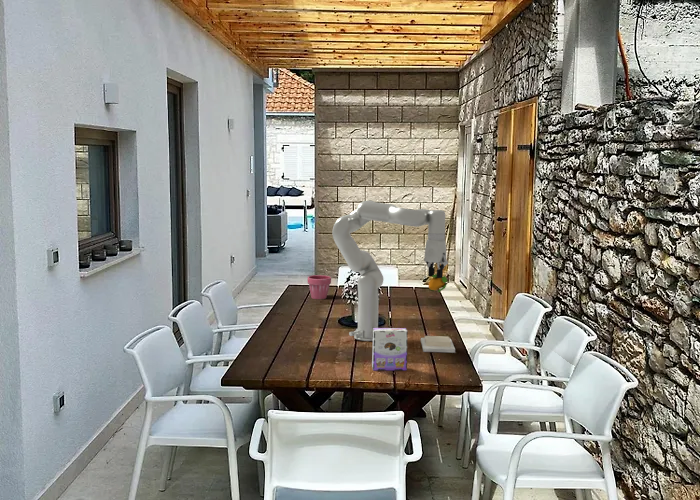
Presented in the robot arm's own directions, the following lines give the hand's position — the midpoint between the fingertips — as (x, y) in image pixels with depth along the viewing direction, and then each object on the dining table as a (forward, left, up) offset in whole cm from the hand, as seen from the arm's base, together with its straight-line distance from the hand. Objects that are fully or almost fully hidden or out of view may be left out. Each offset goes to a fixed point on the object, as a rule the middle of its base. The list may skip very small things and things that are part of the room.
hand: (435, 276), depth 344 cm
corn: (+1, -1, -7) cm, 7 cm away
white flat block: (-1, -4, -32) cm, 32 cm away
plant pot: (+18, +122, -32) cm, 127 cm away
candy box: (-43, -21, -32) cm, 58 cm away
